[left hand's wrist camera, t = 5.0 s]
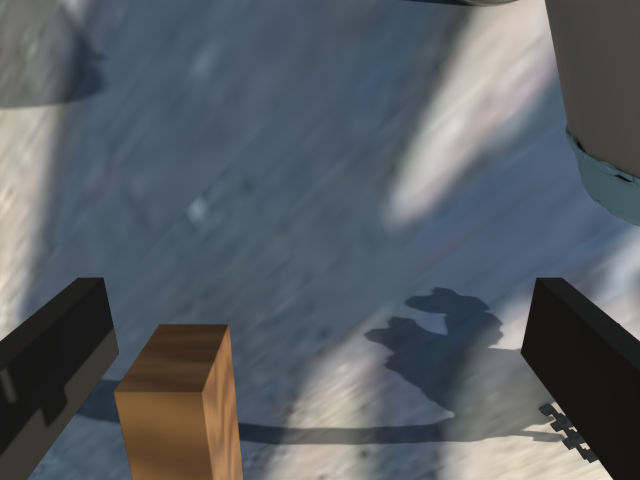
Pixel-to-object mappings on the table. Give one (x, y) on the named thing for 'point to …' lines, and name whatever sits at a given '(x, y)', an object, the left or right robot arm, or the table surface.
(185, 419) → the bar
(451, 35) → the table surface
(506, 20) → the table surface
